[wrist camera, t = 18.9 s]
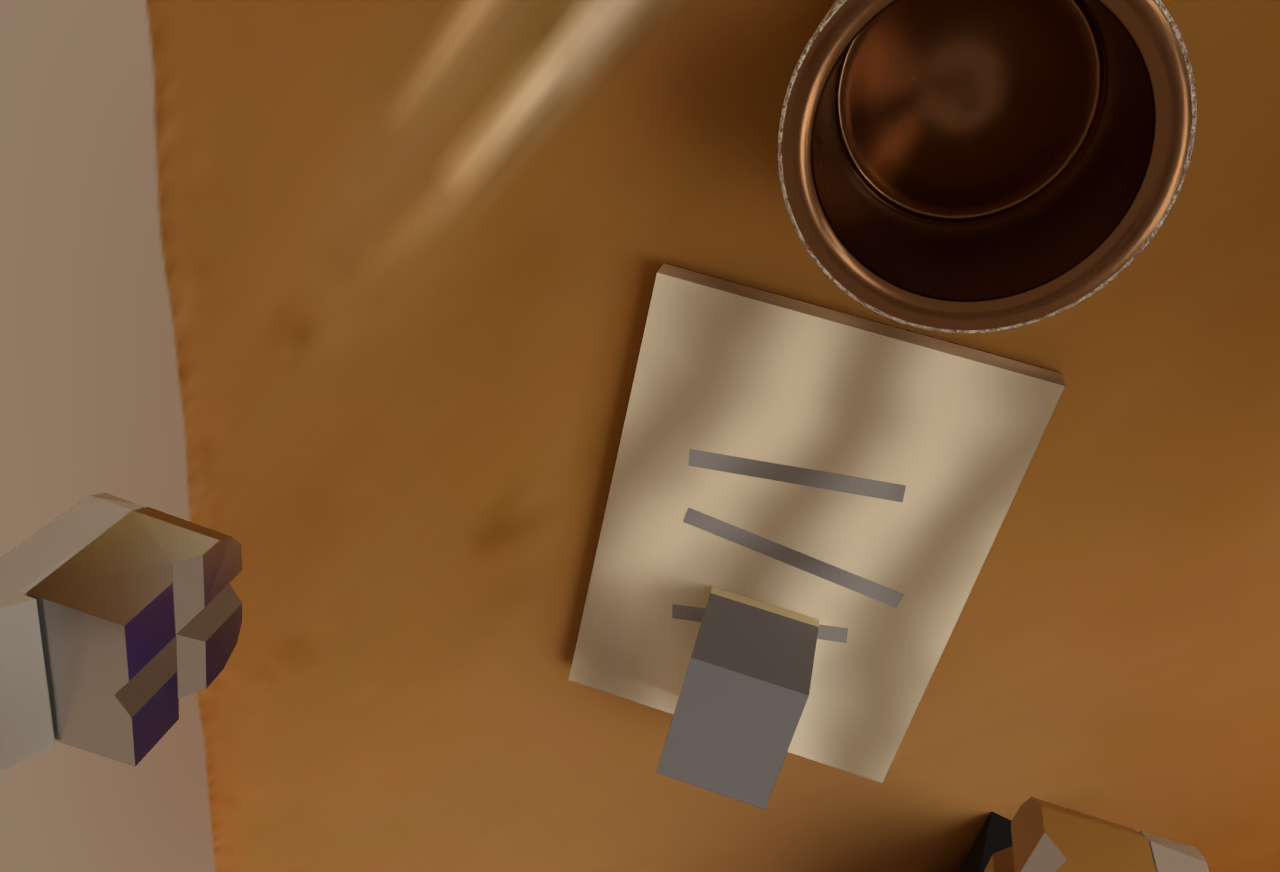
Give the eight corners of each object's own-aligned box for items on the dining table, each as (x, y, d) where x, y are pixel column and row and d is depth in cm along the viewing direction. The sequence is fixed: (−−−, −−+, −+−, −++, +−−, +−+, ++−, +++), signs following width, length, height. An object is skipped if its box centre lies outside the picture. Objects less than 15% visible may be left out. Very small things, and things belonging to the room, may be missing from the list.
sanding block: (819, 620, 46) (809, 695, 41) (778, 729, 49) (764, 809, 45) (712, 586, 46) (690, 657, 42) (679, 696, 50) (656, 772, 45)
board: (1061, 373, 39) (1065, 386, 38) (883, 764, 50) (882, 783, 49) (663, 263, 41) (656, 272, 40) (575, 664, 52) (568, 680, 51)
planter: (1104, 247, 37) (1157, 348, 29) (801, 238, 39) (769, 329, 31) (1163, -92, 32) (1248, -89, 24) (811, -78, 34) (777, -70, 26)
